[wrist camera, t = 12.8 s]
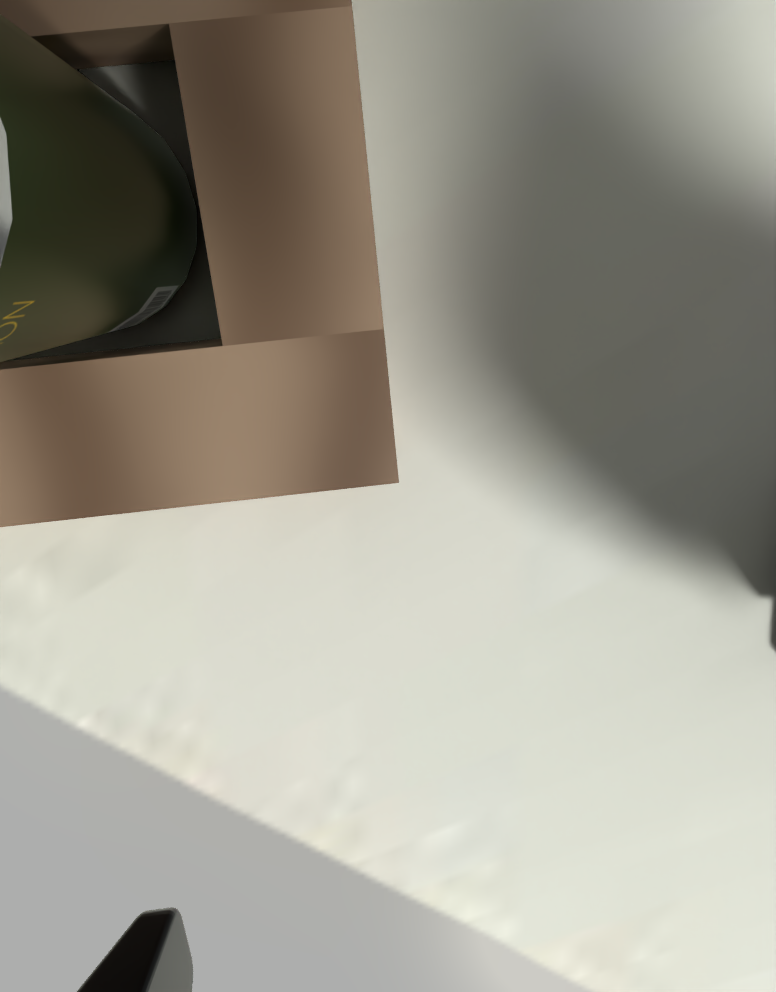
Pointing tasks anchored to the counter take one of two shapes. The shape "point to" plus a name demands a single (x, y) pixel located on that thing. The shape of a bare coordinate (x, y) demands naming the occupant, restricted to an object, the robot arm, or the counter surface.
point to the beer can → (81, 206)
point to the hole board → (224, 280)
